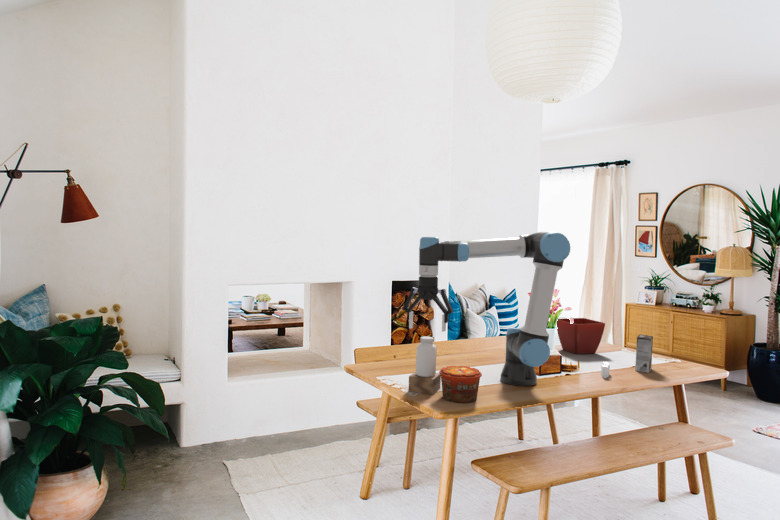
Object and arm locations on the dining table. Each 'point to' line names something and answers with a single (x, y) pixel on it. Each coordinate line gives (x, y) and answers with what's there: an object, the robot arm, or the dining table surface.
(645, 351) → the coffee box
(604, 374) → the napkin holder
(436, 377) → the walnut block
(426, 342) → the pill bottle
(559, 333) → the plant pot
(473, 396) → the food container
